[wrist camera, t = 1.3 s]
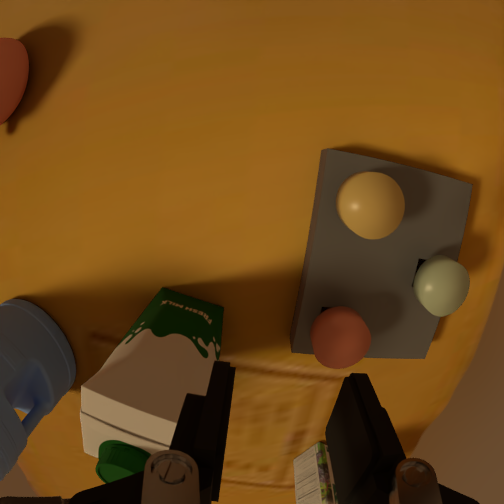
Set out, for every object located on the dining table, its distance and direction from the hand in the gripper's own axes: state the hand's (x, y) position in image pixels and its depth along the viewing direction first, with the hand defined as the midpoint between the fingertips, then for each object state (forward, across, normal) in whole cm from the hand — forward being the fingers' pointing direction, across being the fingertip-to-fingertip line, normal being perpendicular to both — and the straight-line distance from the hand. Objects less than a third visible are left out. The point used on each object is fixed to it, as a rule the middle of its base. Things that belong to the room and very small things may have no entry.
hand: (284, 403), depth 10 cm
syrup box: (+22, -12, +31) cm, 40 cm away
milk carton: (+22, +8, +10) cm, 26 cm away
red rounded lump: (+20, -7, +6) cm, 22 cm away
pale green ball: (+20, -16, 0) cm, 26 cm away
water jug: (+22, +31, +19) cm, 43 cm away
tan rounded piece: (+20, -7, -6) cm, 22 cm away
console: (+22, -12, 0) cm, 25 cm away
